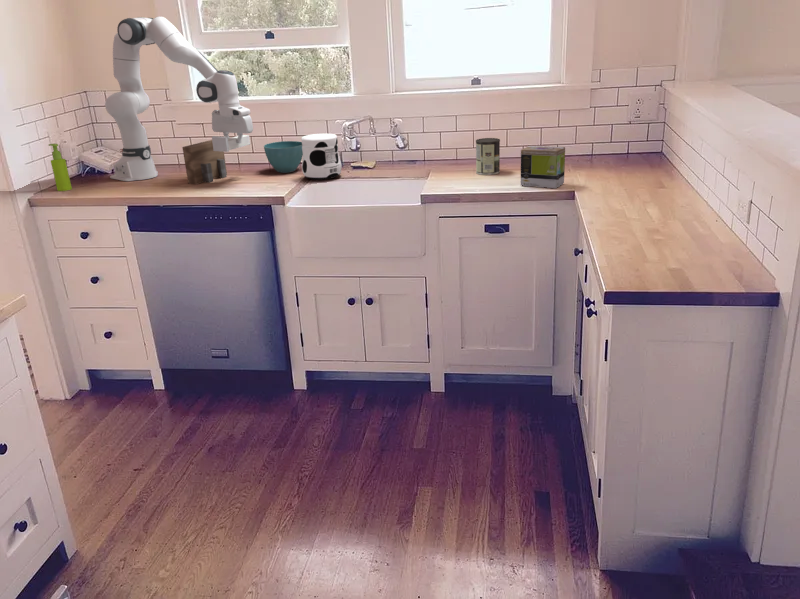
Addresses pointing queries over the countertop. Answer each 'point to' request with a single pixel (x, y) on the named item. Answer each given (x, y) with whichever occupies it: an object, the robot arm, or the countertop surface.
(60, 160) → the soap dispenser
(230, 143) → the white t-shaped piece
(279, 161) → the teal bowl
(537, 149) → the tea box
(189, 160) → the brown wooden block
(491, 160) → the coffee can
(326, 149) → the milk container
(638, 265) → the countertop surface
